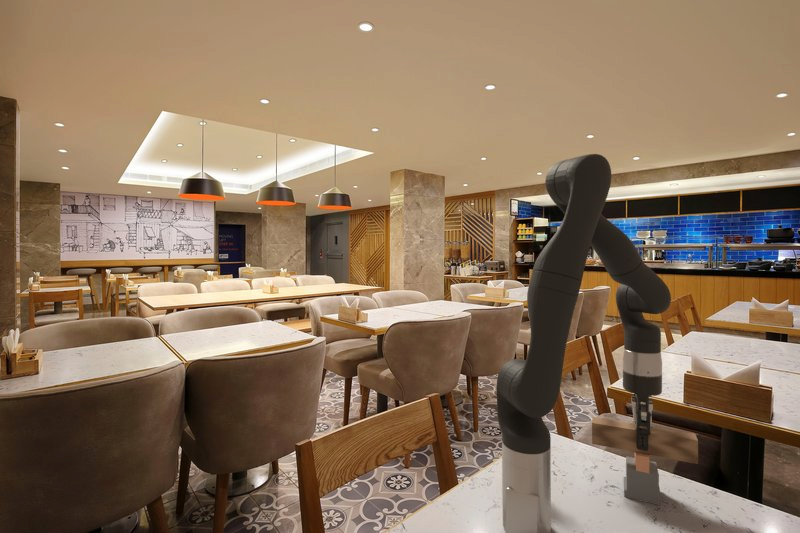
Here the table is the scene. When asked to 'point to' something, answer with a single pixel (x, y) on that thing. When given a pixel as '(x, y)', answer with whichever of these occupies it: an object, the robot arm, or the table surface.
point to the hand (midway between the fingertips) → (641, 445)
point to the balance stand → (642, 479)
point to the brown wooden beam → (658, 441)
